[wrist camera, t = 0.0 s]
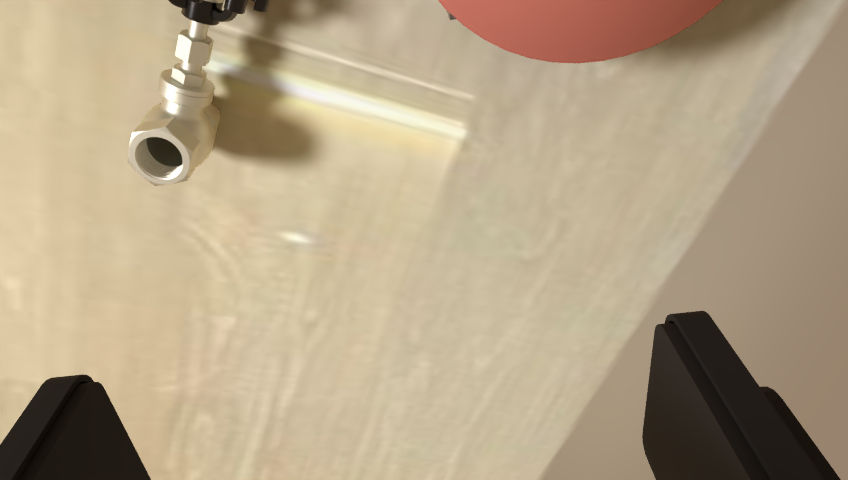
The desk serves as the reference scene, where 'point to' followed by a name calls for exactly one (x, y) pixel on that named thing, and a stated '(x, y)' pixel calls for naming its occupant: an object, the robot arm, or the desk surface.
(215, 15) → the valve
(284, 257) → the desk surface
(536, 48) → the handwheel
